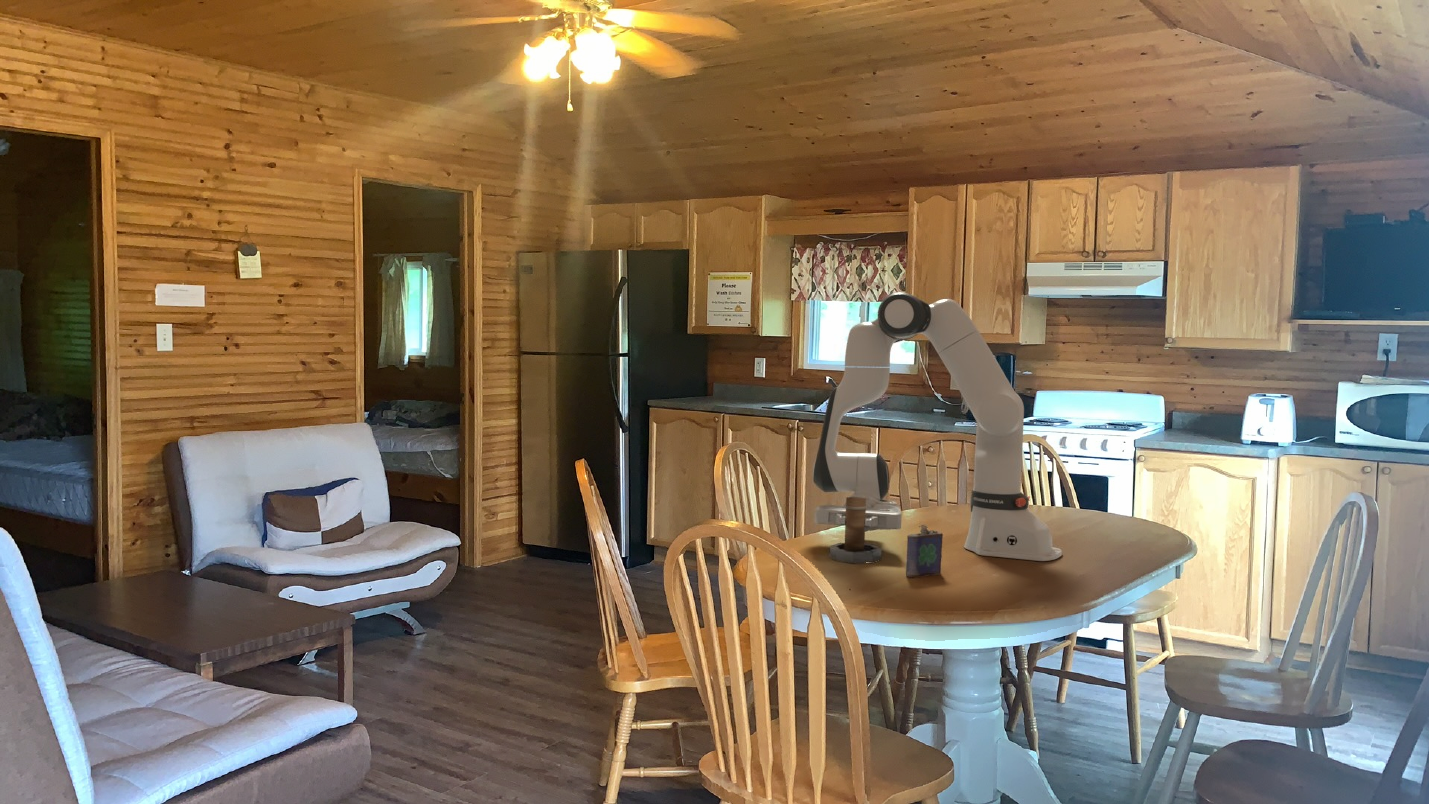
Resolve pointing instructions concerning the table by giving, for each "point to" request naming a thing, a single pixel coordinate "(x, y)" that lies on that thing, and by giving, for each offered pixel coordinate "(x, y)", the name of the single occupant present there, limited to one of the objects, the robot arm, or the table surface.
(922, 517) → the table surface
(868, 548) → the ring
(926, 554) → the flask
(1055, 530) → the table surface
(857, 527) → the brown wooden cylinder
